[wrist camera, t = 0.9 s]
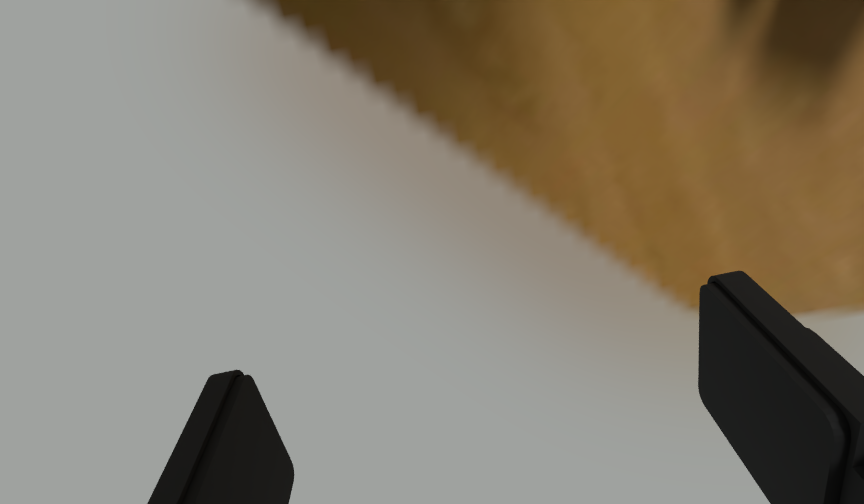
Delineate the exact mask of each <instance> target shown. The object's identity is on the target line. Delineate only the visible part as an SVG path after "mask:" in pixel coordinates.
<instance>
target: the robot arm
mask: <svg viewBox="0 0 864 504" xmlns="http://www.w3.org/2000/svg"><path fill="white" fill-rule="evenodd" d="M698 379H699V380H698V387H699V394H700V397H701V399H702V402H703V404H704V405H705V407H706V409H707V410H708V412H709V413H710V414H711V416H712V417H713V419H714V420H715V422H716V423H717V425H718V426H719V428H720V429H721V431H722V432H723V434H724V435H725V437H726V438H727V440H728V441H729V443H730V444H731V446H732V447H733V449H734V450H735V452H736V453H737V455H738V456H739V457H740V459H741V460H742V462H743V463H744V465H745V466H746V468H747V469H748V471H749V472H750V474H751V475H752V477H753V478H754V480H755V481H756V483H757V484H758V486H759V487H760V488H761V490H762V492H763V493H764V494H765V496H766V498H767V499H768V500H769V502H770V503H771V504H864V376H863V375H862V374H861V373H860V372H859V371H857V370H856V369H855V368H854V367H853V366H852V365H851V364H850V363H848V362H847V361H846V360H845V359H844V358H843V357H842V356H841V355H840V354H839V353H837V352H836V351H835V350H834V349H833V348H832V347H831V346H830V345H828V344H827V343H826V342H825V341H824V340H823V339H822V338H821V337H820V336H818V335H817V334H816V333H815V332H813V331H812V330H810V329H809V328H805V327H804V326H803V325H802V324H801V323H800V322H799V321H798V320H796V319H795V318H794V317H793V316H792V315H791V314H790V313H789V312H788V311H787V310H785V309H784V308H783V307H782V306H781V305H780V304H779V303H778V302H777V301H776V300H774V299H773V298H772V297H771V296H770V295H769V294H768V293H767V292H766V291H765V290H763V289H762V288H761V287H760V286H759V285H758V284H757V283H756V282H755V281H754V280H752V279H751V278H750V277H749V276H748V275H747V274H746V273H744V272H743V271H735V272H730V273H725V274H719V275H714V276H711V277H710V278H709V279H708V283H707V284H706V285H702V286H701V288H700V307H699V378H698ZM293 481H294V468H293V464H292V461H291V459H290V457H289V455H288V453H287V450H286V448H285V446H284V444H283V442H282V440H281V438H280V436H279V433H278V431H277V429H276V427H275V425H274V422H273V420H272V418H271V416H270V414H269V412H268V410H267V408H266V405H265V403H264V401H263V399H262V397H261V395H260V392H259V391H258V388H257V386H256V384H255V382H254V380H253V378H252V377H251V376H250V375H244V374H243V372H241V371H240V370H234V371H229V372H224V373H219V374H214V375H211V376H210V377H209V378H208V380H207V382H206V384H205V386H204V388H203V391H202V392H201V395H200V397H199V399H198V401H197V403H196V405H195V407H194V409H193V411H192V413H191V415H190V417H189V419H188V421H187V423H186V425H185V428H184V430H183V432H182V434H181V436H180V438H179V440H178V442H177V444H176V446H175V448H174V450H173V452H172V455H171V456H170V458H169V460H168V462H167V465H166V467H165V469H164V471H163V473H162V475H161V477H160V479H159V481H158V483H157V485H156V487H155V489H154V491H153V493H152V495H151V497H150V500H149V502H148V504H288V503H289V499H290V495H291V490H292V486H293Z"/></svg>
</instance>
